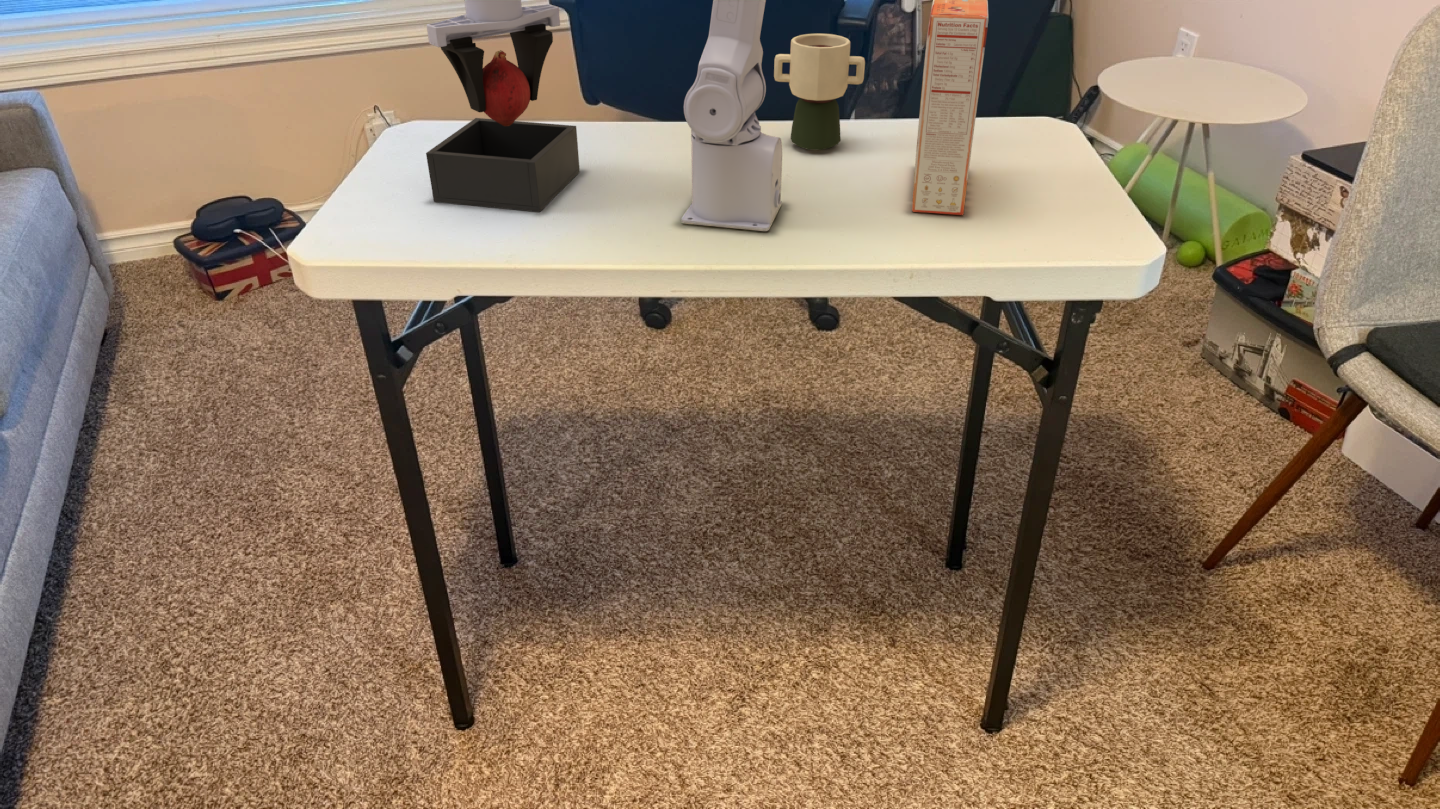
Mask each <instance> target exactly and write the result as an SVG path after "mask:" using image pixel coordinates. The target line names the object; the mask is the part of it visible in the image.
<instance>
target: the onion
mask: <svg viewBox="0 0 1440 809" xmlns="http://www.w3.org/2000/svg"><path fill="white" fill-rule="evenodd" d="M483 86H484V94H485V101H486V111H485V112H483V113H484V114H485V115H486V116H487V117H488V118H489V119H493V120H494V121H496V122H498V123H499V124H501V125H503V126H510V125H512V124H513V122H514V121H517V119H518V118H519V117H520V116H522V115H523V114H524V112H525V111H526V110H527V109H528V107H529V104H530V102H531V100H530V87H529V82H528V80H527V78H526V76H525V75H524V73H523V72H522V71H521V70H520V69H519V68H518V65H516V64H515V63H513V62H512V61H510V60H508V59H507V53H506V52H505V51H504V50H501V49H499V50H497V51H495V53H494V54H493V57H492V59H491V60H490V61H489V62H488V63H486V64H485V65H484V66H483Z"/></svg>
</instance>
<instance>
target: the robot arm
mask: <svg viewBox="0 0 1440 809" xmlns="http://www.w3.org/2000/svg"><path fill="white" fill-rule="evenodd" d="M463 2H464V8H465V14H461V15H457V16H455V17H451V18H448V19H444V20H440V21H437V22H432V23H427V24H426V25H425V26H426V31H427V39H428V44H429V45H431V46H434V47H435V48H436V47H437V48H440V49H441V51H442V52H443V54H444V55H445V57H446V58H447V60H448V62H449V63H450V64H451V66H452V68H453V69H454V71H455V73H456V75H457V76H458V79H459V81H460V83H461V85H462V87H463V90H464V93H465V95H466V98H467V101H468V104H469V107H470V109H471V110H473V111H474V112H477V113H484V112H485V111H486V101H485V94H484V86H483V68H484V57H485V56H484V55H485V50H484V49H482V48H480V47H477V43H476V42H474V41H473V40H477V39H482V38H488V37H493V36H500V35H505V34H509V36H510V39H511V42H512V46H513V49H514V53H515V57H516V62H517V67H518V68H519V69H520V70H521V71H522V72H523V73H524V75H525V76H526V78H527V80H528V82H529V87H530V102H533V101H534V102H535V101H537V100H538V94H539V86H540V81H541V75H542V71H543V67H544V64H545V61H546V58H547V55H548V52H549V50H550V48H551V46H552V44H553V42H554V35H553V32H552V31H551V30H547V27H551V28H555V27H560V26H561V19H560V7H559V6H556V5H552V4H550V3H547V4H539V5H531V6H530V5H529V6H528V5H527V6H523V5H522V0H464V1H463ZM766 2H767V0H712V5H711V6H712V7H711V15H710V23H709V30H708V37H707V40H706V43H705V45H704V48H703V51H702V53H701V57H700V59H699V62H698V64H697V73H696V77H695V80H694V82H693V84H692V85H691V86H690V88H689V89H688V91H687V92H686V95H685V97H684V100H683V114H684V118H685V120H686V124H687V125H688V127H689V128H690V142H691V144H690V147H691V148H690V149H691V150H690V151H691V154H690V155H691V203H690V205H689V206H688V207H687V209H686V211H685V212H684V213H683V215H682V217H681V218H680V222H681V224H688V225H695V226H696V225H698V226H706V227H707V226H709V227H717V228H726V229H727V228H728V229H738V230H747V231H757V232H768V231H769V230H771V227H772V225H773V223H774V221H775V218H776V217H777V214H778V212H779V211H780V208H781V206H782V200H781V199H782V176H783V174H782V173H783V168H782V167H783V142H782V138H780V137H778V136H773V135H769V134H766V133H764V132H762V126H761V125H760V121H759V119H758V117H757V115H756V111H757V110H759V108H760V107H761V106H762V104H763V102H764V100H765V97H766V94H767V93H766V92H767V85H766V79H765V76H764V73H763V69H762V62H763V56H764V51H763V50H764V49H763V46H762V42H761V39H760V38H761V31H762V26H763V19H764V12H765V7H766Z"/></svg>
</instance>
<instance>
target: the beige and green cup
mask: <svg viewBox="0 0 1440 809" xmlns="http://www.w3.org/2000/svg"><path fill="white" fill-rule="evenodd" d="M783 63H789V73H783ZM773 65H774V66H773V67H774V69H773V77H774V78H773V79H774V81H775V82H779V83H788V86H789V89H790V92H791V94H792V95H793V96H795V97H797V98H798V99H797V102H796V104H795V108H794V114H793V119H792V123H791V131H790V138H789V139H790V141H791V143H792V144H794V145H795V146H797V147H799V148H802V149H806V150H813V151H821V150H826V149H827V150H828V149H831V148H833V147H836V146H837V145H839V143H840V142H841V121H840V120H841V119H840V107H839V104H838V101H837V100H836V99H839V98H842V97H844V95H845V93H846V90H847V89H848V86H849V85H861V84H863V83H864V80H865V71H866V70H865V68H866V60H865V57H863V56H859V55H858V56H856V55H851V41H850V40H849V38H847V37H844V36H843V35H837V34H833V33H805V34H799V35H797V36H794V37H792V39H791V40H790V53H778V54H776V55H775V57H774V64H773ZM850 65H856V70H855V72H856V73H855V75H849V69H850Z"/></svg>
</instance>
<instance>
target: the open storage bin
mask: <svg viewBox="0 0 1440 809" xmlns="http://www.w3.org/2000/svg"><path fill="white" fill-rule="evenodd" d="M425 154H426V155H425V156H426V162H427V168H428V174H429V180H430V187H431V193H432V198H433V202H434V203H444V204H454V205H464V206H474V207H483V208H495V209H505V210H516V211H524V212H536V213H541V211H543V210H544V209H545V208H546V206H548V204H550V203H551V202H552V200H554V199H555V198H556V197H557V196H558V195H559V194H560V193H561V192H562V191H563V190H564V188H565V187H566V186H567V185H569V184H570V183H571V182H572V181H573V180H574V179H575V177H577V175H579V173H580V172H581V170H580V156H579V142H578V131H577V125H569V124H557V123H545V122H533V121H530V122H529V121H519V120H515V121H514V122H513V124H512V125H510V126H503V125H501V124H499V123H498V122H496V121H494V120H493V119H491V118H482V117H475V118H473V119H472V120H471V121H469V122H468V123H466V124H465V125H464V126H462V127H461V128H459V129H458V130H457V131H455V132H453V133H452V134H451V135H449V136H448V137H446V138H445V139H443V141H441V142H439V143H438V144H436V145H435V146H434V147H432V148H431V149H429V150H428V151H426V153H425Z"/></svg>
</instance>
